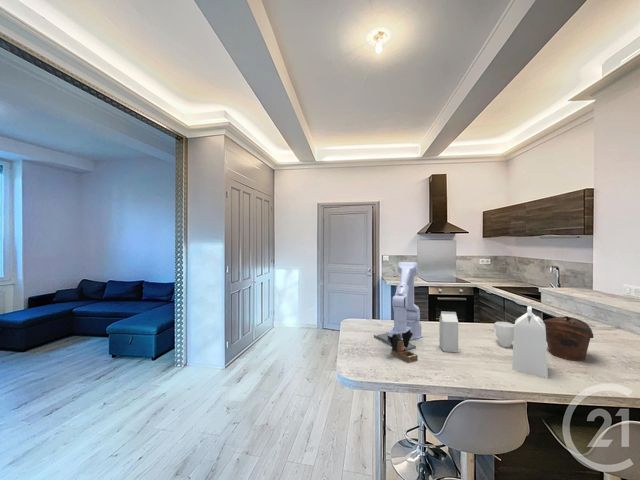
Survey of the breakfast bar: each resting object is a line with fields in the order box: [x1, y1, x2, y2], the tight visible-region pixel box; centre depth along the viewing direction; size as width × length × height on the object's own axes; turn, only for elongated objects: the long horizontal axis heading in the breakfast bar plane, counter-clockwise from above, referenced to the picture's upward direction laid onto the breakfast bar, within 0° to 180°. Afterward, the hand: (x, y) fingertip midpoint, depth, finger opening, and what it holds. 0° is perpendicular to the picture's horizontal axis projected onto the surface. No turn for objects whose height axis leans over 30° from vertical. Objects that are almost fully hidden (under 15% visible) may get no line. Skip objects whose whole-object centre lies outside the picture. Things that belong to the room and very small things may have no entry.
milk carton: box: [438, 311, 459, 354], centre depth 135 cm, size 7×7×19 cm
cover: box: [376, 332, 403, 343], centre depth 148 cm, size 10×9×3 cm
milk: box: [511, 305, 549, 379], centre depth 115 cm, size 12×12×26 cm
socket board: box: [390, 348, 419, 364], centre depth 126 cm, size 6×11×2 cm, turn 26°
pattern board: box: [373, 334, 417, 351], centre depth 144 cm, size 10×22×1 cm, turn 26°
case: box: [542, 316, 595, 362], centre depth 128 cm, size 18×20×18 cm
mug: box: [492, 321, 515, 348], centre depth 141 cm, size 12×8×11 cm
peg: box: [397, 341, 404, 352], centre depth 129 cm, size 3×3×6 cm
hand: (400, 348), depth 129 cm, fingers open, 7 cm apart
